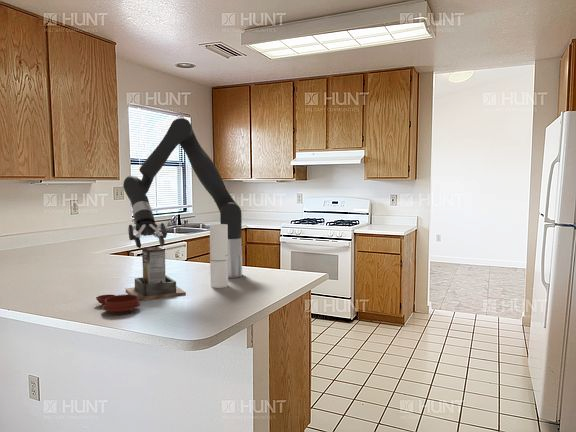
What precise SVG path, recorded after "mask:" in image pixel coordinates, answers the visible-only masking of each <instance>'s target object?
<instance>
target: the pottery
mask: <svg viewBox="0 0 576 432" xmlns="http://www.w3.org/2000/svg"><path fill="white" fill-rule="evenodd" d="M95 299H96V301H97V302H98V303H99V304H101V307H102V310H104V311H106V312H111V313H112V314H115V315H124V314H128V313H131V312H132V311H133V310H134V309H137V308H139V307H140V306H141V305H142V304H141V301H138V297H137V296H135V295H129V294H120V295H119V294H117V295H116V294H101V295H98V296H96V297H95Z"/></svg>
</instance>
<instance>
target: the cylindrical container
mask: <svg viewBox="0 0 576 432" xmlns="http://www.w3.org/2000/svg"><path fill="white" fill-rule="evenodd" d="M209 263H210V264H209V265H210V267H209V268H210V273H209V275H210V280H209V281H210V287H211V288H213V289H214V288H217V289H218V288H219V289H222V288H227V287H228V286H229V278H228V225H227V224H221V223H213V224H209Z"/></svg>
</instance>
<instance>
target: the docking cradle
mask: <svg viewBox="0 0 576 432" xmlns="http://www.w3.org/2000/svg"><path fill="white" fill-rule="evenodd" d="M125 292H126V293H127V295H135V296H137V297H138V302H143V301H152V300H157V299H165V298H172V297H178V296H186V295H187V293H186V292H187V291H185V290H183V289H181V287H178V286H177V281H176V280H174V279H173V278H171V277H170V276H168V275H166V274H165V283H157V284H149V285H145V284H144V283H143V276H141V277H136V278H134V287H128V288H125Z"/></svg>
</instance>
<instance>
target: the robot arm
mask: <svg viewBox="0 0 576 432" xmlns="http://www.w3.org/2000/svg"><path fill="white" fill-rule="evenodd" d="M179 145H180V147H181V149H183V151H184V153H185V154H186V156H187V159H188V161H189V163H190V165H191V167H192V170H193V172H194V173H195V175H196V177H197V179H198V180H199V182H200V183H201V185H202V186H203V188H205V191H207V193H208V194H209V195H210V196H211V197H212V199H213V201H214V202H215V205H216V207H217V209H218V212H219V213H220V215H219V217H220V218H219V219H220V220H219V221H220V223H219V224H227V225H228V279H229V278H231V279H232V278H241V277H242V276H243V254H242V230H243V229H242V228H243V227H242V219H243V218H242V209H241V207H240V206H239V205H238V203H237V202H236V201H235V200H234V198H233V197H232V196H231V194H230V193H229V190H228V189H227V187H226V185H225V182H224V180H223V178H222V176H221V174H220V172H219V170H218V168H217V167H216V165H215V163H214V162H213V160H212V159H211V157H210V155H208V154H207V152H206V151H205V150H204V148H203V147H202V146H201V144H200V143H199V140H198V139H197V137H196V135H195V132H194V130H193V126H192V124H191V122H190V121H189V120H188V119H187V118H184V117H177V118H175V119H174V120H173V121H171V124H170V126H169V128H168V129H167V131H166V133H165V135H164V136H163V138H162V139H161V141H160V142H159V143H158V145H157V146H156V147H155V149H154V150H153V151H152V152H151V153H150V155H149V156H148V157H147V158H146V159H145V161H144V162H143V163H142V164H141V166H140V167H139V172H140V173H141V174H142V179H140V178H139V177H137V176H135V175H128V176H126V177H125V178H124V181H123V190H124V192H125V194H126V196H127V197H128V200H129V201H130V205H131V209H132V217H133V220H134V225H132V224H129V225H128V229H127V230H128V231H127V233H128V238H129V241H134V242H135V245H136V248H138V249H142V244H141V238H142V236H143V237H146V236H153V237H155V238H157V239H158V241H159V247H160V248H163V247H164V245H165V239H166V238H167V235H168V231H167V228H166V226H165V223H163V222H161V223H160V224H157V223H156V220H155V217H154V216H155V215H154V214H153V213H154V212H153V209H152V207H151V205H150V201H149V198H148V195H147V194H148V192H149V190H150V188H151V186H152V184H153V181H154V179H155V177H156V176H157V174H158V173H159V172H160V170H161V169H162V168H163V166H164V165H165V164H166V162H167V160H168V159H169V157H170V156H171V154H172V153H173V151H174V150H175V149H176V148H177V147H178V146H179ZM134 231H136V232H137V233H136V234H135V235H134Z"/></svg>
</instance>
